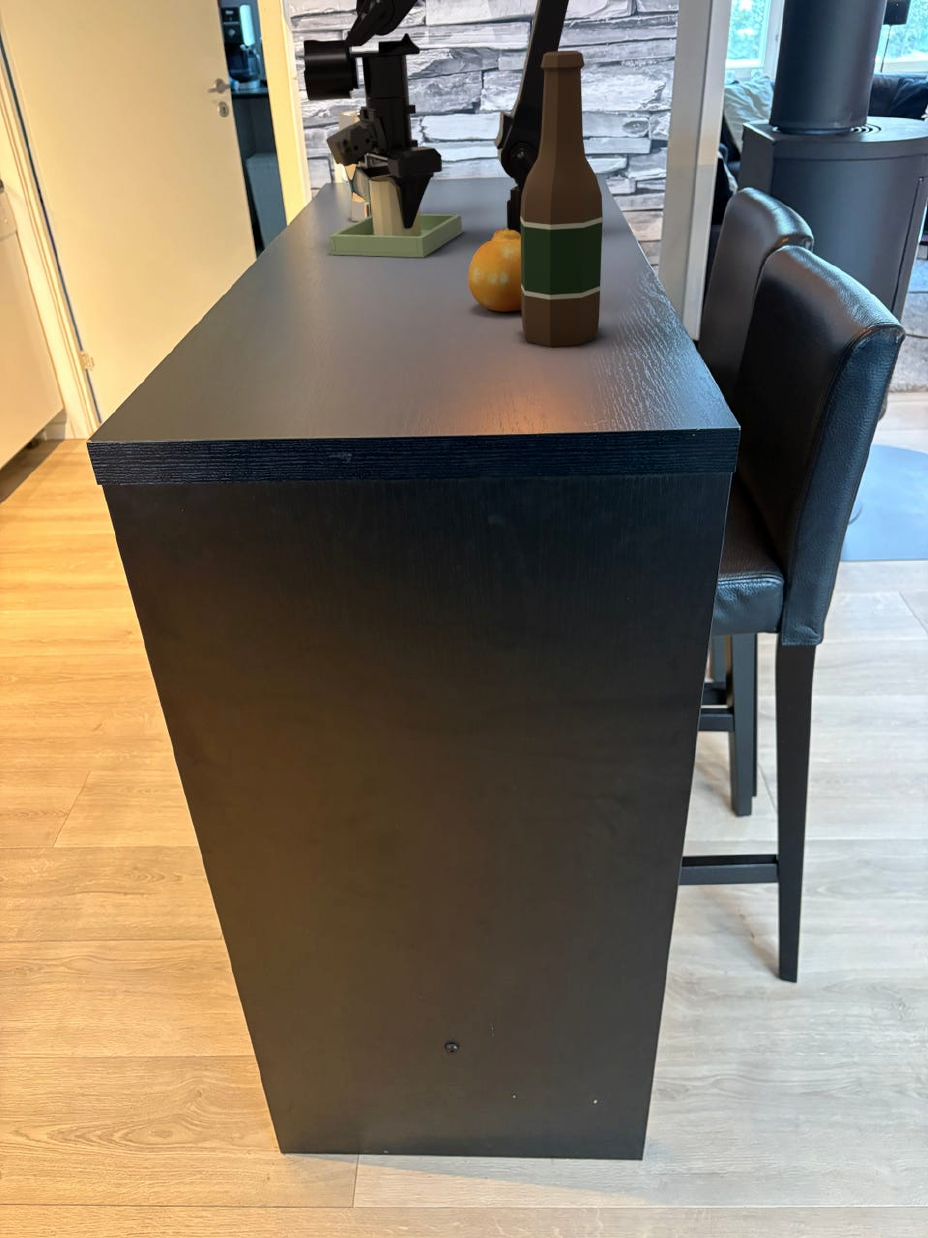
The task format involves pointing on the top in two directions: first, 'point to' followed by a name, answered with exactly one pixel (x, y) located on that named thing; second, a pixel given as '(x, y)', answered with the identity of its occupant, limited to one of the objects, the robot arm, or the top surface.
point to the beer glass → (356, 176)
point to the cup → (389, 210)
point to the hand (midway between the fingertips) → (397, 224)
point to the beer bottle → (561, 218)
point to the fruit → (498, 272)
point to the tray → (396, 238)
